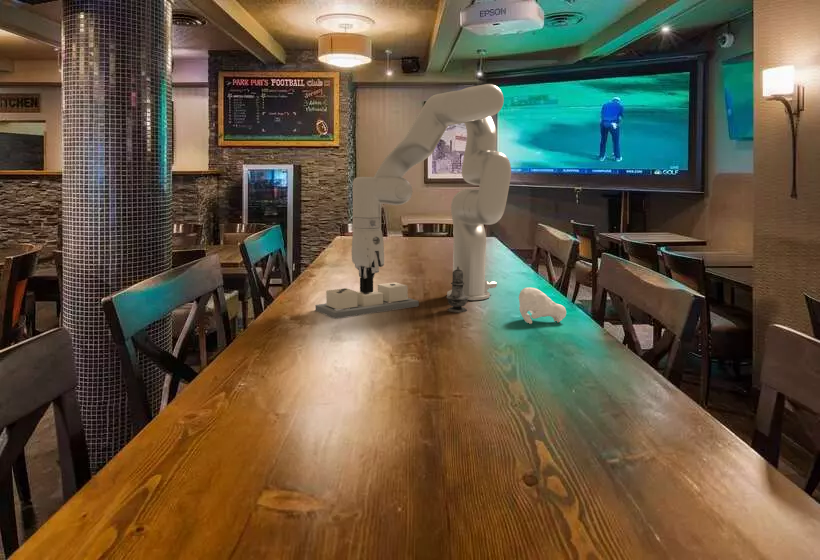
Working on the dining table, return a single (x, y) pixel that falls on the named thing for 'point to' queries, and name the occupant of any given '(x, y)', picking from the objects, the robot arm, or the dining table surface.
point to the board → (366, 308)
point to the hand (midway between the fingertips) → (366, 291)
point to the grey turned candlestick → (457, 293)
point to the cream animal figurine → (539, 305)
